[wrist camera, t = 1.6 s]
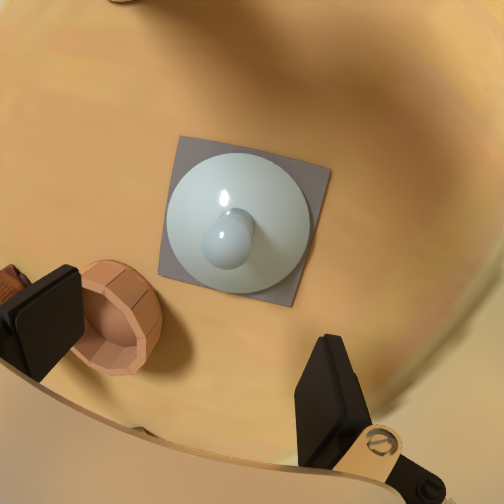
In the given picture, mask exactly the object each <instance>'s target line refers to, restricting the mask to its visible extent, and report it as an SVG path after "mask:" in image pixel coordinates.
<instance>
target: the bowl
mask: <svg viewBox="0 0 504 504" xmlns="http://www.w3.org/2000/svg"><path fill="white" fill-rule="evenodd" d="M79 273H80V274H81V277H82V299H83V313H84V324H85V331H84V334H83V336H82V337H81V338H80V339H79V340H78V341H77V342H76V343H75V344H74V345H73V347H72V348H71V349H70V350H71V351H72V352H73V353H74V354H75V355H76V356H78V357H79V358H80V359H81V360H82V361H83V362H84V363H85V364H87V365H88V366H89V367H91V368H93V369H96V370H98V371H100V372H103V373H105V374H107V375H110V376H126V375H133V374H134V373H135V372H136V371H137V370H138V369H139V368H140V367H141V366H142V365H143V364H144V363H145V362H146V361H147V359H148V357H149V355H150V354H151V352H152V350H153V348H154V347H155V345H156V343H157V341H158V340H159V338H160V333H161V330H162V327H163V311H162V307H161V303H160V301H159V298H158V296H157V294H156V292H155V291H154V289H153V288H152V286H151V285H150V284H149V282H148V281H147V280H146V279H145V278H144V277H143V276H142V275H141V274H140V273H138V272H137V271H136V270H134V269H133V268H131V267H130V266H128V265H126V264H124V263H121V262H118V261H114V260H100V261H97V262H94V263H92V264H91V265H89V266H87V267H84V268H82V269H80V270H79Z"/></svg>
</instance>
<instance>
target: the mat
mask: <svg viewBox="0 0 504 504" xmlns="http://www.w3.org/2000/svg"><path fill="white" fill-rule="evenodd" d="M229 153H245V154H251V155H255V156H259V157H262V158H264V159H267V160H269V161H271V162H273V163H274V164H276V165H278V166H279V167H281V168H282V169H283V170H284V171H285V172H287V173H288V174H289V175H290V177H291V178H292V179H293V180H294V181H295V182H296V184H297V185H298V187H299V188H300V190H301V192H302V194H303V196H304V198H305V201H306V204H307V207H308V212H309V220H310V229H309V237H308V242H307V245H306V248H305V251H304V253H303V255H302V257H301V259H300V261H299V262H298V264H297V265H296V266H295V268H294V269H293V270H292V271H291V272H290V273H289V274H288V275H287V276H286V277H285V278H283V279H282V280H281V281H279V282H278V283H276V284H274V285H273V286H270V287H268V288H266V289H263V290H260V291H256V292H251V293H232V294H236V295H240V296H244V297H249V298H253V299H257V300H262V301H266V302H270V303H275V304H280V305H284V306H289V307H291V304H292V301H293V298H294V295H295V292H296V289H297V285H298V282H299V279H300V276H301V273H302V270H303V266H304V263H305V260H306V257H307V253H308V250H309V247H310V243H311V240H312V237H313V233H314V230H315V226H316V223H317V219H318V216H319V212H320V208H321V205H322V201H323V198H324V194H325V190H326V186H327V183H328V179H329V175H330V171H331V169H328V168H324V167H321V166H317V165H314V164H310V163H307V162H303V161H299V160H295V159H292V158H288V157H284V156H280V155H276V154H271V153H267V152H263V151H259V150H254V149H250V148H245V147H240V146H235V145H230V144H225V143H220V142H215V141H209V140H203V139H197V138H191V137H185V136H180V137H179V141H178V146H177V151H176V155H175V160H174V166H173V171H172V176H171V182H170V187H169V193H168V199H167V206H166V212H165V219H164V226H163V233H162V241H161V249H160V257H159V266H158V275H161V276H165V277H169V278H173V279H176V280H180V281H184V282H188V283H192V284H195V285H199V286H203V287H207V288H211V287H209V286H207V285H205V284H203V283H201V282H200V281H198V280H197V279H195V278H194V277H193V276H192V275H190V274H189V273H188V272H187V271H186V270H185V269H184V267H183V266H182V265H181V263H180V262H179V261H178V259H177V257H176V256H175V254H174V252H173V250H172V247H171V245H170V241H169V238H168V232H167V211H168V206H169V202H170V199H171V196H172V194H173V192H174V190H175V188H176V186H177V185H178V183H179V182H180V181H181V179H182V178H183V177H184V176H185V175H186V174H187V173H188V172H189V171H190V170H191V169H192V168H194V167H195V166H196V165H198V164H199V163H201V162H203V161H204V160H207V159H209V158H212V157H214V156H218V155H222V154H229ZM211 289H213V288H211ZM215 290H216V289H215ZM219 291H220V290H219ZM227 293H229V292H227Z"/></svg>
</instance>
